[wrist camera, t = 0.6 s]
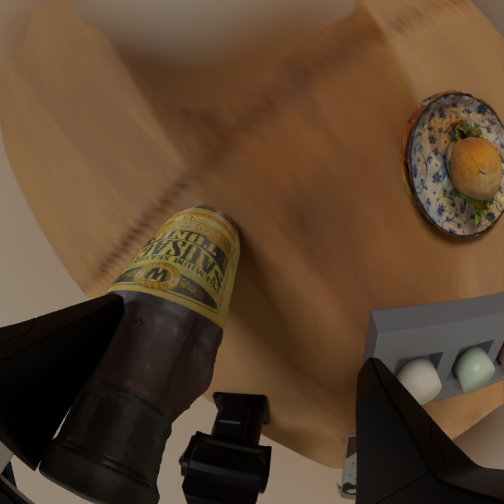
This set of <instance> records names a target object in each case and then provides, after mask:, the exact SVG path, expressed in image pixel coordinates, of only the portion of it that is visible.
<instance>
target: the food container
mask: <svg viewBox="0 0 504 504" xmlns="http://www.w3.org/2000/svg"><path fill="white" fill-rule="evenodd" d="M356 472H357V447H356V435H348V436H347V437H346V448H345V458H344V467H343V475H342V483H341V486H339V485H338V482H337V487H338V492H339V493H340V496H341V497H342V498H345V499H352V500H356Z"/></svg>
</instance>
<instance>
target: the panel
mask: <svg viewBox="0 0 504 504" xmlns="http://www.w3.org/2000/svg"><path fill="white" fill-rule="evenodd" d="M475 346H482V347H483V348H484V350H485V352H486V353H487V355H488V357H489V358H490V360H491V362H492V363H493V365H494V367H495V372H494V374H493V376H492V377H491V379H490V380H489V381H488V382H487V383H486V384H485V385H484V386H483V387H485V386H488V385H490V384H493V383H496V382H498V381H501V380H504V367H503V365H502V363H501V362H500V360H499V353H500V351H501V349H502V347H503V346H504V293H499V294H493V295H488V296H482V297H476V298H470V299H464V300H457V301H451V302H443V303H436V304H428V305H420V306H411V307H402V308H392V309H382V310H371V313H370V321H369V328H368V335H367V342H366V348H365V354H364V359H363V365H364V363H365V362H366V360H367V359H368V358H369V357H374V358H379V359H380V360H381V361H382V362H383V363H384V364H385V365H386V366H387V368H388V369H389V370H390V371H391V372H392V373H393V374H394V375H395V377H397V374H398V372H399V370H400V369H401V368H402V367H403V366H404V365H405V364H407V363H408V362H410V361H412V360H415V359H418V358H428V359H430V360H431V361H432V363H433V365H434V367H435V370H436V372H437V375H438V377H439V379H440V382H441V385H442V388H441V391H440V392H439V394H438V395H437V396H436V397H435V398H434V399H432V400H431V401H430V402H433V401H437V400H441V399H445V398H449V397H453V396H456V395H460V394H463V393H465V392H464V391H463V388H462V386H461V384H460V382H459V379H458V377H457V375H456V373H455V370H454V367H455V364H456V362H457V360H458V359H459V358H460V356H461V355H462V354H463V353H465V352H466V351H467V350H469V349H470V348H472V347H475ZM363 365H362V367H363ZM481 388H482V387H481Z"/></svg>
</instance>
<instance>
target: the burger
mask: <svg viewBox="0 0 504 504" xmlns="http://www.w3.org/2000/svg"><path fill="white" fill-rule="evenodd" d="M401 151H402V152H401V153H402V154H401V156H402V157H401V168H402V175H403V180H404V183H405V186H406V189H407V193H408V195H409V197H410V199H411V201H412V203H413V205H414V206H415V208H416V209H417V210H418V212H419V213H420V215H421V216H422V217H423V218H424V219H425V220H426V221H428V222H429V223H430V224H431V225H433V226H435V227H436V228H438V229H440V230H441V231H443V232H445V233H447V234H449V235H452V236H456V237H462V238H464V237H471V236H477V235H479V234H481V233H483V232H486V231H487V230H488V229H489V228H490V227H492V226H493V225H494V224H495V223H496V222H497V221H498V219H499V218H500V217H501V215H502V214H503V212H504V126H503V125H502V123H501V121H500V120H499V118H498V115H497V114H496V112H495V111H494V110H493V109H492V107H490V105H489V104H487V103H486V102H485V101H484V100H481V99H477V98H474V97H473V96H472V95H471V94H468V93H466V94H464V93H462V92H459V91H446V92H442V93H438V94H434V95H432V96H431V97H429V98H427V99H425V100H423V102H422V104H421V105H420V106H419V107H418V108H416V112H415V113H414V114H413V116H412V118H411V119H409V121H408V122H407V125H406V128H405V130H404V133H403V147H402V150H401ZM403 162H404V163H403Z"/></svg>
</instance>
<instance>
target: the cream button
mask: <svg viewBox="0 0 504 504" xmlns="http://www.w3.org/2000/svg"><path fill="white" fill-rule="evenodd" d="M396 378H397V379H398V380H399V381H400V382H401V383H402V384H403V386H404V387H405V388H406V389H407V390H408V391H409V392H410V394H411V395H412V396H413V397H414V398H415V399H416V400H417V402H418V403H419V404H420V405H424V404H426V403H428V402H430V401H431V400H432V399H434V398H435V397H436V396H437V395H438V394H439V392H440V391H441V388H442V385H441V382H440V379H439V377H438V375H437V372H436V370H435V367H434V365H433V363H432V361H431V360H430V359H428V358H418V359H415V360H412V361H410V362H408V363H407V364H405V365H404V366H403V367H402V368H401V369H400V370H399V372H398V374H397V377H396Z"/></svg>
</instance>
